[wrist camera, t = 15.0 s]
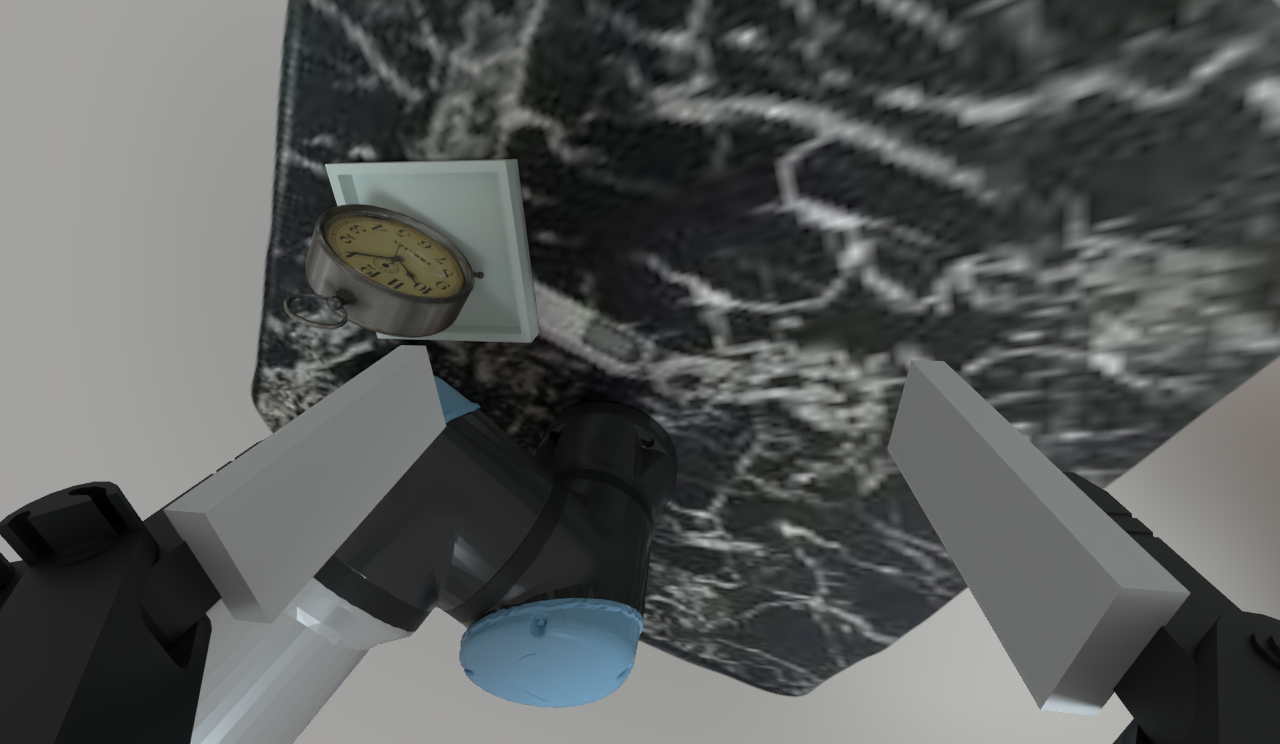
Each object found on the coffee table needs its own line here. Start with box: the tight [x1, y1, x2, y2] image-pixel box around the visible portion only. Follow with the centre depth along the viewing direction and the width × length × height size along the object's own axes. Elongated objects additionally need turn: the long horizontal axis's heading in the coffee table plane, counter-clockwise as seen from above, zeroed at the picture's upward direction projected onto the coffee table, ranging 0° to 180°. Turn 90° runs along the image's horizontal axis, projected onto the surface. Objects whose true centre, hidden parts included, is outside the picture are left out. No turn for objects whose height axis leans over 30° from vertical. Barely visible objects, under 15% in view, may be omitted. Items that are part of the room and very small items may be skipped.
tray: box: [325, 159, 540, 343], centre depth 41 cm, size 15×15×2 cm
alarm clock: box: [284, 204, 484, 338], centre depth 34 cm, size 11×5×16 cm, turn 54°
